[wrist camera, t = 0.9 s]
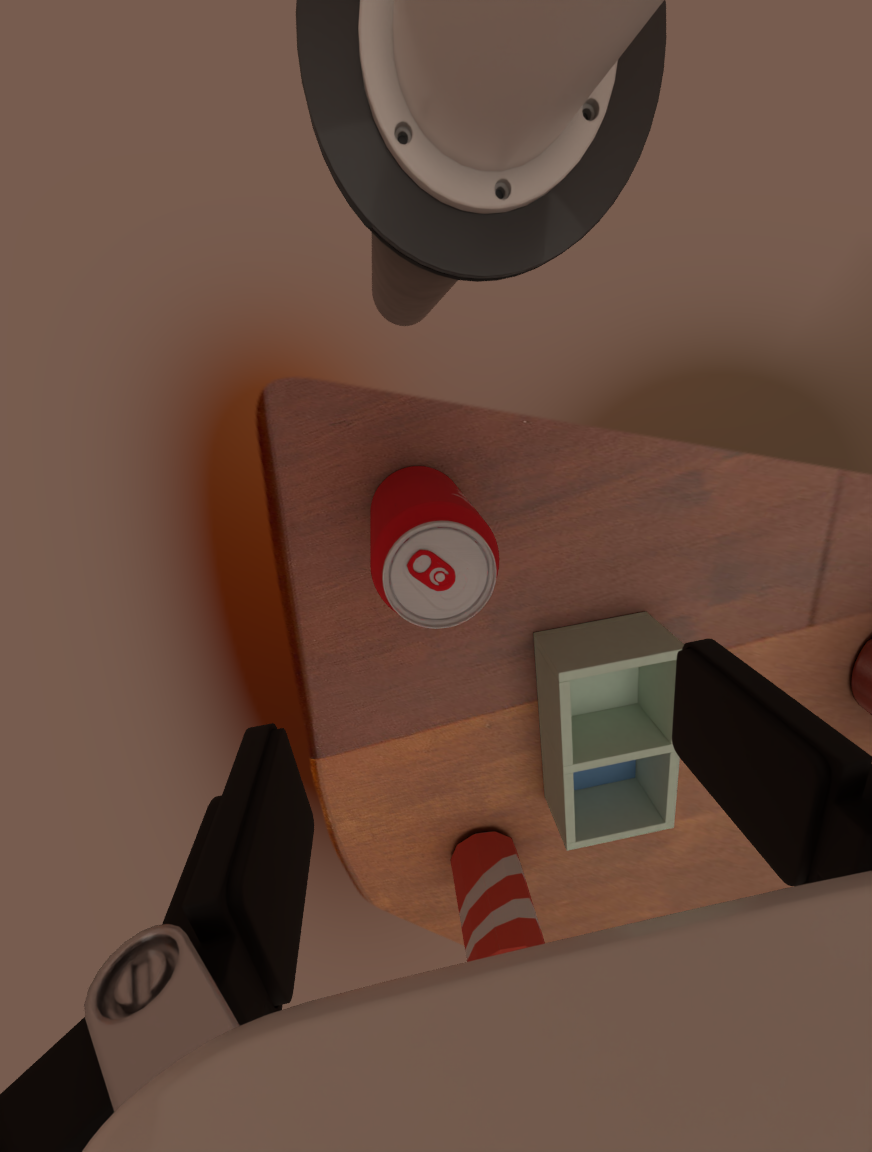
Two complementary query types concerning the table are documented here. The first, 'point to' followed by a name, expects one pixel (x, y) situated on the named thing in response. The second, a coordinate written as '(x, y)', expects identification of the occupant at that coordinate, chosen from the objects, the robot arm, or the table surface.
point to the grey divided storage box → (608, 727)
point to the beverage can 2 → (493, 897)
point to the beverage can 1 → (430, 549)
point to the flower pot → (863, 678)
